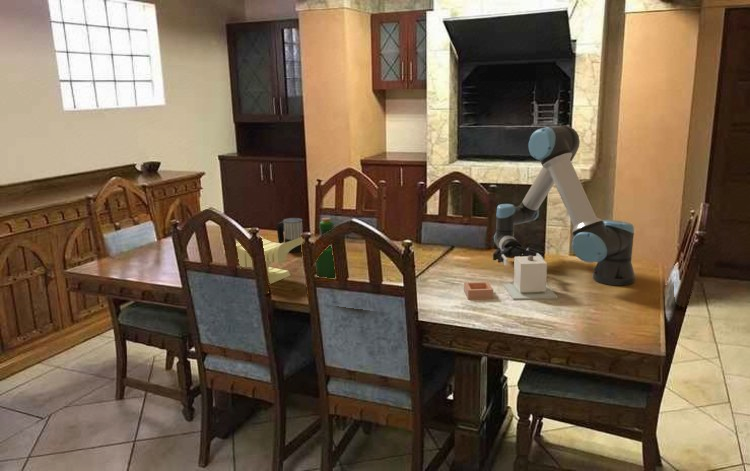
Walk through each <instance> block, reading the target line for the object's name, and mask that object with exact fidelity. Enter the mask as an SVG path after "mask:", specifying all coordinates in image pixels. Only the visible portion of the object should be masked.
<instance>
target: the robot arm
mask: <svg viewBox="0 0 750 471" xmlns="http://www.w3.org/2000/svg"><path fill="white" fill-rule="evenodd" d="M580 142H581V141H580V135H579V133H578V132H577V131H576V130H575V129H574V128H573V127H571V126H569V125H558V126H546V127H545V126H544V127H542V128H538V129H535V131H533V133H531V135H530V137H529V141H528V151H529V154H530V156H531V157H533V158H534V159H535V160H538V161H539V162H540V164H541V166H542V167H541V169H540V171H539V173H538V174H537V176H536V178H535V179H534V181H533V182H532V184H531V186H530V188H529V189H528V191H527V193H526V194H525V196H524V198H523V199H522V202H520V204H519V205H518V206H515V205H514V204H512V203H502V204H498V205H497V207H496V213H495V214H496V215H495V217H496V220H495V222H496V223H495V224H496V226H495V227H496V228H495V234H494V236H493V241H494V243H495V246H496V247H497V248H496V250H495V251H494V253H493V254H492V261H497V263H502V264H503V265H504V266H505V267H508V258H509V259H514V257H522V256H540V257H541V258H542V259H543V260H545V258H546V256H545V255H546V252H544V251H542V250H538V249H535V248H532V247H530V246H528V247H527V248H525V247H522V244H521V243H520V242H519V241H518V240H517V239H516V238H515V226H516V225H521V224H525V223H531V222H532V221H535V220H537V219H538V218H539V216H540V209H539V208H540V207H541V205H542V203H543V202H544V201H545V199H546V198H547V196H548V194H549V192H550V191H551V189H552V187H553V186H554V185H555V187H556V189H557V192H558V194H559V196H560V199H561V200H562V203H563V206H564V207H565V210H566V212H567V214H568V216H569V220H571V224H572V226H573V228H572V231H571V233H572V236H573V238H572V240H571V241H572V243H571V248H572V251H573V253H574V255H575V256H576V258H578V259H579V260H581V261H583V262H585V263H589V264H590V263H596V264H595V267H594V269H593V272H592V279H593V280H594V281H595V282H597V283H600V284H603V285H608V286H609V285H610V286H628V285H633V284H634V283H635V282H634V281H636V280H635V278H636V274H635V272H634V271H635V270H634V267H633V263H632V257H633V256H632V255H633V245H634V237H635V236H634V235H635V226H634V225H633V224H632V223H630V222H627V221H622V220H612V219H604V220H603V219H601V218H599V217H597V215H596V214H595V211H594V209H593V207H592V205H591V203H590V201H589V199H588V196H587V194H586V191H585V190H584V187H583V185H582V183H581V180H580V179H579V175H578V173H577V172H576V171H577V170H576V169H575V167H574V165H573V163H572V161H573V159H574V158H575V156H576V154H577V153H578V150H579V148H580Z"/></svg>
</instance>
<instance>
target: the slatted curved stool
mask: <svg viewBox="0 0 750 471" xmlns="http://www.w3.org/2000/svg"><path fill="white" fill-rule="evenodd" d="M247 229H251V228H250V227H249V228H247ZM259 236H260V237H261V238H262V241H263V248H264V255H265V261H266V266H267V271H268V276H269V281H270V284H269V285H272V284H273V283H276V282H278V281H281V280H283V279H286V278H288V277H291V274H290V271H289V270H287V269H286V270H285V269H282V268H281V269H280V268H276V267H275V268H274V267H271V266H270V265H271V263H274V264H275V265H281V264H284V263H285V262H287V256H288V255H289V253H290V252H289V251H290V250H292V249H293V248H295V247H296V246H298V245H301V244H302V242H303V239H302V237H300V238H297V239H294V240H292V241H289V242H286V243H285V242H283V243H279V242H273V241H271V240H268V239H266V238H264V237H263V236H261V235H259ZM221 245H222V246H221V247H222V254H223V255H225V250H224V245H223V241H222V244H221ZM236 246H237V252H238V258H237V260H238V259H239V262H238V264H240V265H239V267H240V266H242V267H252V260H251V257H250V256H249V254H248V253H247V251H246V250H245V249H244V248H243V247H242V246H241V244H240V243H239V242H238V241H236Z"/></svg>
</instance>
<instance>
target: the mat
mask: <svg viewBox="0 0 750 471" xmlns="http://www.w3.org/2000/svg"><path fill="white" fill-rule="evenodd" d="M502 286H503V288H504V290H506V292H507V293H508V294H509V296H510V298H511V299H512V300H513V301H520V300H523V301H524V300H548V299H550V300H551V299H555V300H556V299H559V298H558V295H556V293H555V292H554V291H553V290H552V289H551V288H550V287H549V286H548V284H546V291H539V292H535V293H523V292H519V290H518V289H517V288H516V286H515V285H514V282H513V283H502Z"/></svg>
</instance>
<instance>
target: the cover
mask: <svg viewBox="0 0 750 471" xmlns="http://www.w3.org/2000/svg"><path fill="white" fill-rule="evenodd" d="M513 259H514V263H513V283H514V285H515V286H516V288H517V289H518V290H519V292H523V293H535V292H539V291H546V285H547V272H548V263H547V261H545V259H542V258H541V257H540V256H522V257H520V256H519V257H518V256H517V257H514V258H513Z"/></svg>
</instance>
